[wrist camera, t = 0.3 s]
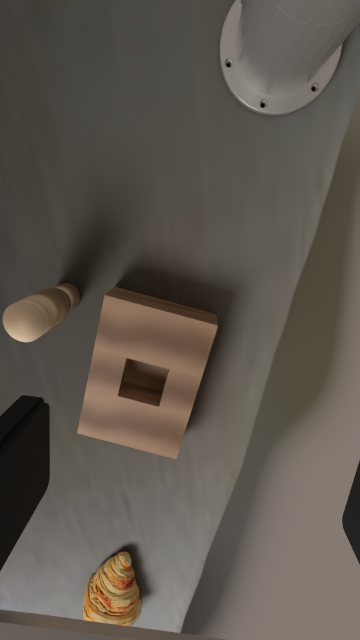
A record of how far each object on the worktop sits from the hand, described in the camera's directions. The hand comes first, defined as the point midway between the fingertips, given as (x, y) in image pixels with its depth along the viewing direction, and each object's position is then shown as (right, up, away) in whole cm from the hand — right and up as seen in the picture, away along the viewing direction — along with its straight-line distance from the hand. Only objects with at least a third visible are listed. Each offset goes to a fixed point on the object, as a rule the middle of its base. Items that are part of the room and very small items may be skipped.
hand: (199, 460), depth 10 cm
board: (-5, -2, +38) cm, 39 cm away
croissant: (-12, -44, +52) cm, 69 cm away
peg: (-16, +7, +36) cm, 40 cm away
